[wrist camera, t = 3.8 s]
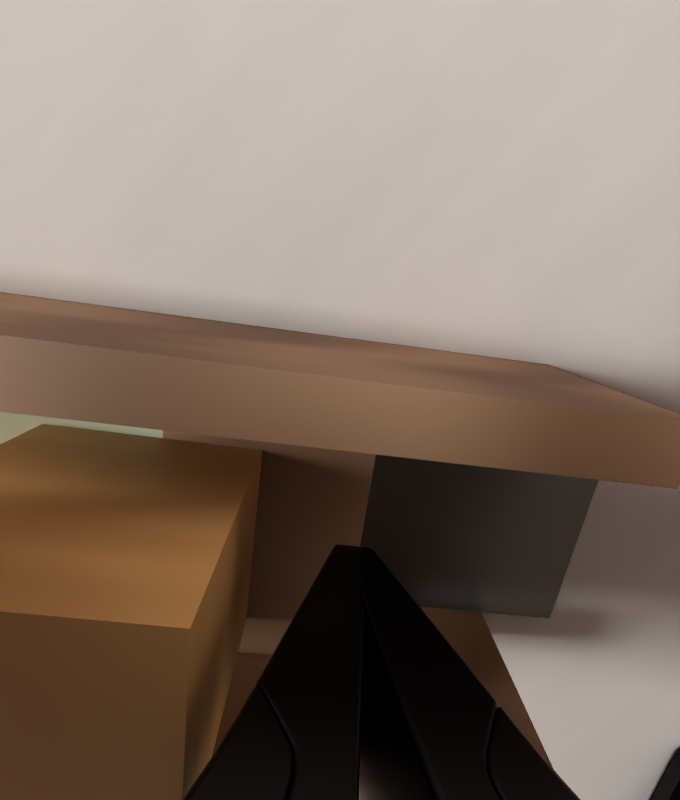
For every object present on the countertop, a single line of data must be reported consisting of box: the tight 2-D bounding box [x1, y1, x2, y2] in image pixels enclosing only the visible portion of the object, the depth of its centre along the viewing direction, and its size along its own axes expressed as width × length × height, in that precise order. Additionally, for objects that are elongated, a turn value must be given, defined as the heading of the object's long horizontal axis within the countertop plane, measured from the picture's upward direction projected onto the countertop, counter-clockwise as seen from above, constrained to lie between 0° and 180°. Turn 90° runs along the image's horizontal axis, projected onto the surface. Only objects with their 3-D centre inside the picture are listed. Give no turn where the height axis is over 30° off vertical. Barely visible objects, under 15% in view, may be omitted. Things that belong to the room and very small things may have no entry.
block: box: [0, 424, 262, 800], centre depth 6 cm, size 4×4×4 cm
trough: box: [0, 292, 680, 770], centre depth 8 cm, size 20×8×4 cm, turn 82°
